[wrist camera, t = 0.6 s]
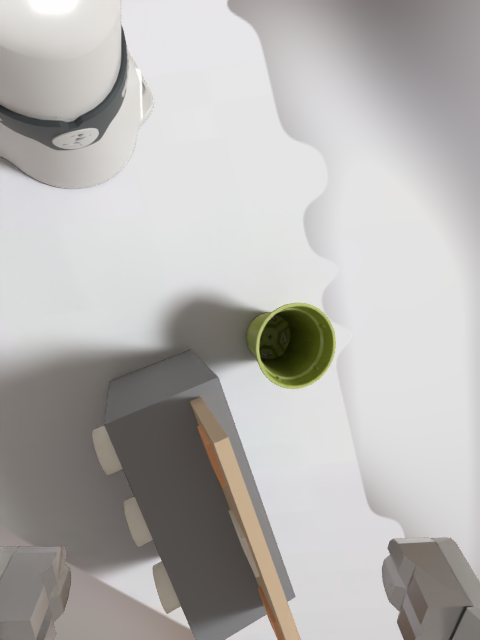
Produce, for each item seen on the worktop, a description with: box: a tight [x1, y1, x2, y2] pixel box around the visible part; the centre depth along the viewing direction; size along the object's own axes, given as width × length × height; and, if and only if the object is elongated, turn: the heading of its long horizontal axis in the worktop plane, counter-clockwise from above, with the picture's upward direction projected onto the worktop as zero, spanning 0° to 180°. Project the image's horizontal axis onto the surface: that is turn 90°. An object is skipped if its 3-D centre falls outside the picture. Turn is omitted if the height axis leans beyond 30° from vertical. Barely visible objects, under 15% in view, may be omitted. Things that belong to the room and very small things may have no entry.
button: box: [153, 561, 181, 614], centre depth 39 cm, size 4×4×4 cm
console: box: [104, 350, 301, 640], centre depth 37 cm, size 24×10×23 cm, turn 19°
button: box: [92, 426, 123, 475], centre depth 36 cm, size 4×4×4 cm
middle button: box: [124, 497, 153, 547], centre depth 38 cm, size 4×4×4 cm
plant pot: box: [246, 303, 336, 389], centre depth 45 cm, size 9×9×9 cm
